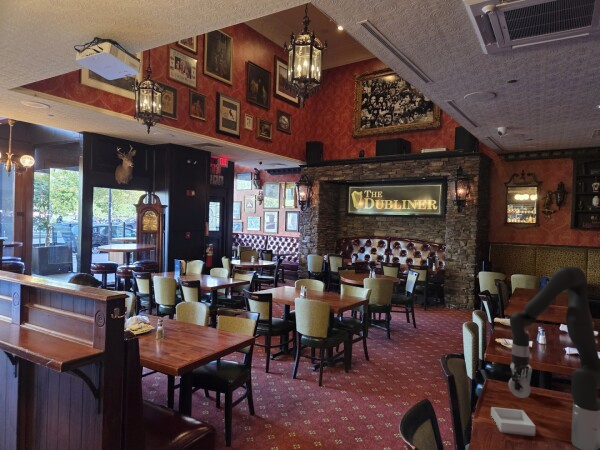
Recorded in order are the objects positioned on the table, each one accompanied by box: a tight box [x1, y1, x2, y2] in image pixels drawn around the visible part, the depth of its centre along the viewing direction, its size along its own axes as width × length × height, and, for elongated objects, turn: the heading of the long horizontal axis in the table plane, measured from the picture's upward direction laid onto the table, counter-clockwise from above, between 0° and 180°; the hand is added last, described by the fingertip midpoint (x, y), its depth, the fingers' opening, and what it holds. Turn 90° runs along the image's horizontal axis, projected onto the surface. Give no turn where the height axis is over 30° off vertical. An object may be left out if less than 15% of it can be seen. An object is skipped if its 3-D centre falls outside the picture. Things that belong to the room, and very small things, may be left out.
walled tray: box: [490, 406, 536, 437], centre depth 179 cm, size 14×14×4 cm
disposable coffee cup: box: [509, 362, 533, 391], centre depth 214 cm, size 11×11×15 cm
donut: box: [508, 377, 532, 399], centre depth 190 cm, size 10×4×10 cm, turn 37°
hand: (519, 388), depth 190 cm, fingers closed on donut, 3 cm apart
